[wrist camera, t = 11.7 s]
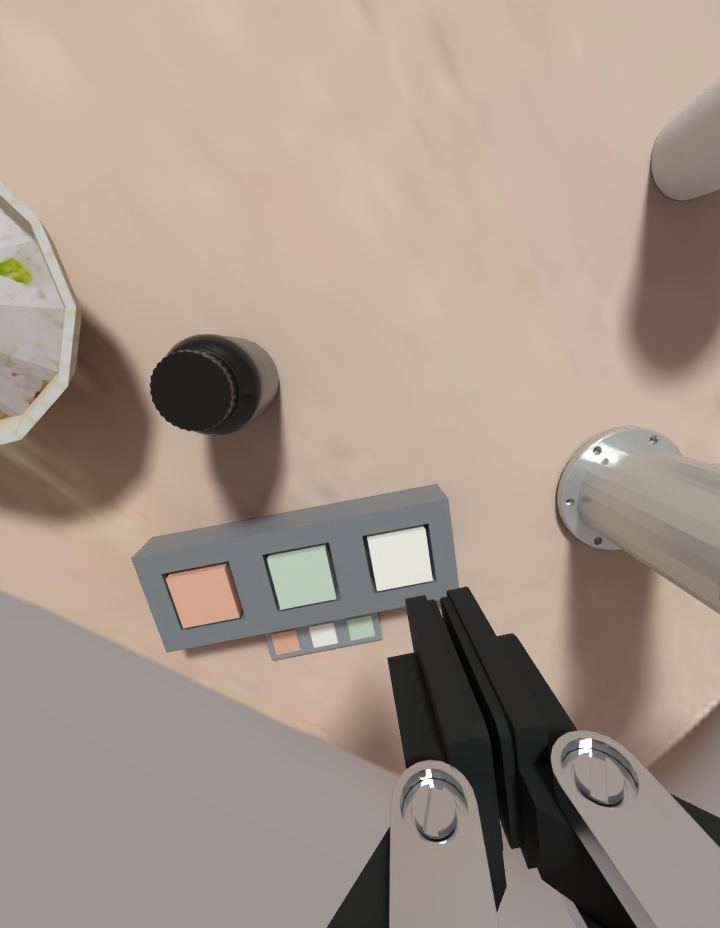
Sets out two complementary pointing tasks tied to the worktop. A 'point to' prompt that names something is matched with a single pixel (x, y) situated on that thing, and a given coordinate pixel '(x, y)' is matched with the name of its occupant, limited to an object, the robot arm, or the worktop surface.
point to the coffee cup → (690, 149)
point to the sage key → (303, 575)
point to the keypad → (293, 530)
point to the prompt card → (324, 636)
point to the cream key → (400, 557)
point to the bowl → (32, 320)
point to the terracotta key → (205, 594)
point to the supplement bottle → (214, 384)
